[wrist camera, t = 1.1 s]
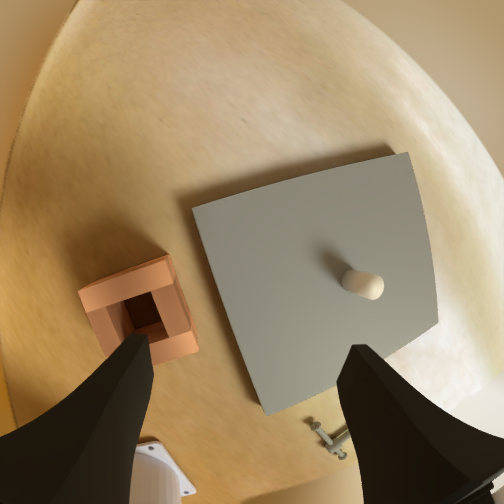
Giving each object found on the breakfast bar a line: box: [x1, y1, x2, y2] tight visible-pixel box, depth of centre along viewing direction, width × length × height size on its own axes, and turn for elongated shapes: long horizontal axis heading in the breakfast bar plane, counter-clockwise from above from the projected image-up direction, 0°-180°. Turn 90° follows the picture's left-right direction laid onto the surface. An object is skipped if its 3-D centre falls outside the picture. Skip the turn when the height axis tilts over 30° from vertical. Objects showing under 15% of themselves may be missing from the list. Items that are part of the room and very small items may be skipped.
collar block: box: [78, 254, 199, 366], centre depth 17 cm, size 5×5×4 cm
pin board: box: [191, 152, 438, 416], centre depth 19 cm, size 18×16×4 cm
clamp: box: [311, 422, 351, 460], centre depth 24 cm, size 15×2×10 cm
